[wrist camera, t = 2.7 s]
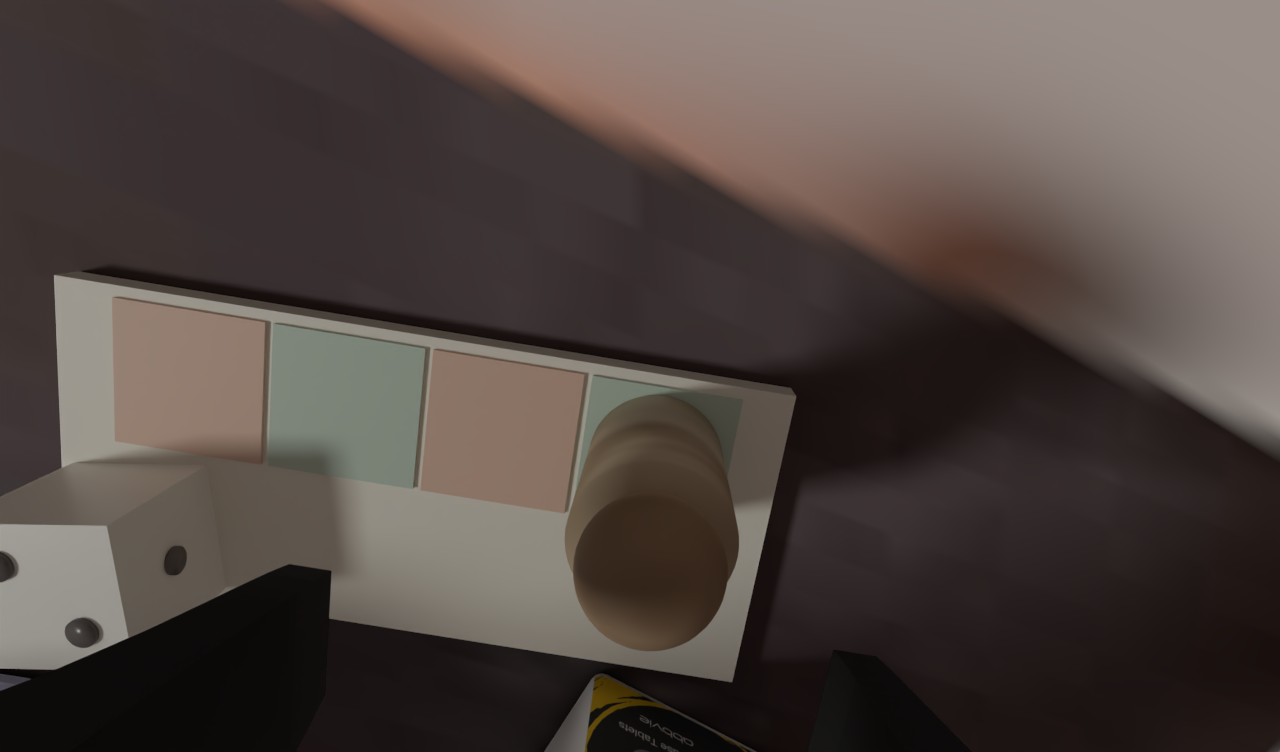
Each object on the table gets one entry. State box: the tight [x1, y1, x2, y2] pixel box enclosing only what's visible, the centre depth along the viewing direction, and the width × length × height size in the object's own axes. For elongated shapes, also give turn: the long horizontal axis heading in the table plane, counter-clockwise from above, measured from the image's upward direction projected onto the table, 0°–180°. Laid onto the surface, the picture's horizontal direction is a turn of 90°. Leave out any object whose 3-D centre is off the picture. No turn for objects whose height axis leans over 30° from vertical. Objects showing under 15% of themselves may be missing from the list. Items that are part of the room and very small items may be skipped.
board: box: [54, 271, 796, 682], centre depth 20 cm, size 8×19×1 cm, turn 81°
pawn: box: [565, 395, 739, 651], centre depth 15 cm, size 3×3×7 cm
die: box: [0, 463, 226, 670], centre depth 18 cm, size 4×4×4 cm
